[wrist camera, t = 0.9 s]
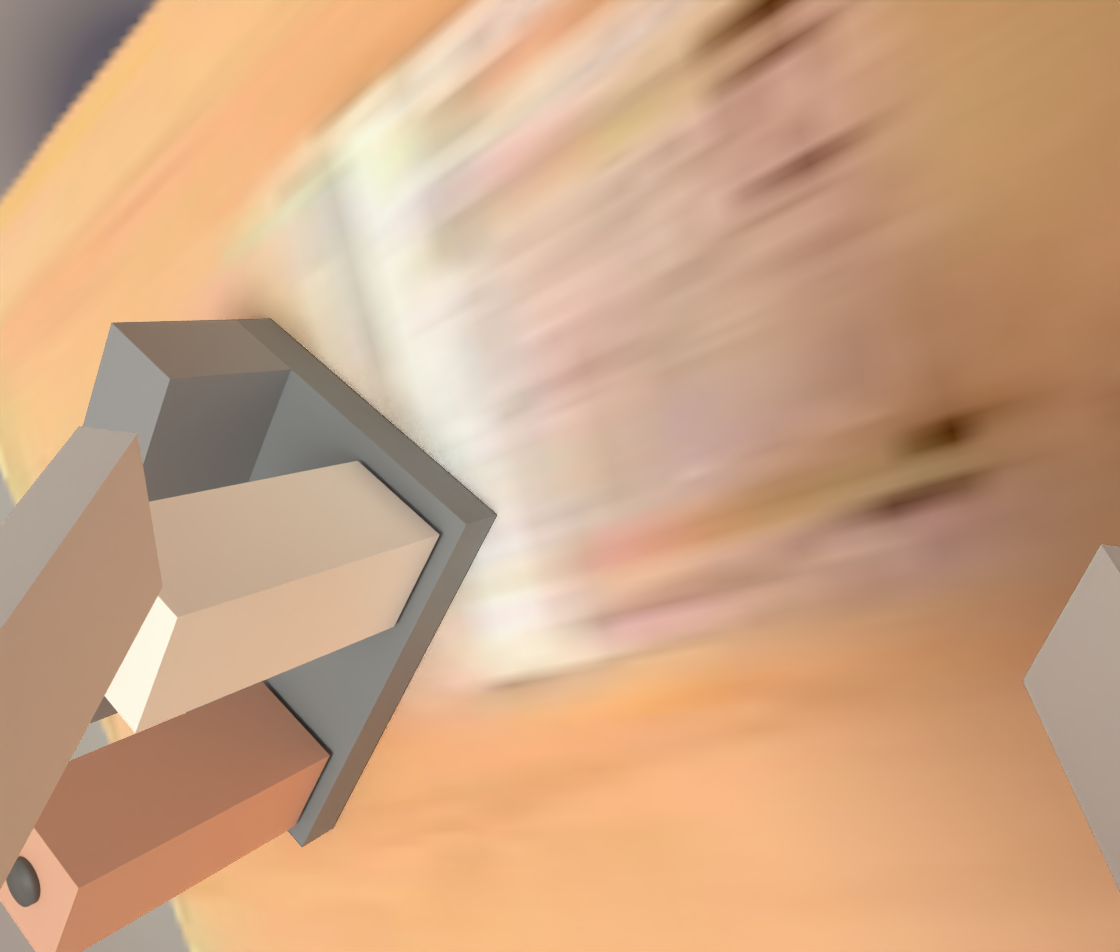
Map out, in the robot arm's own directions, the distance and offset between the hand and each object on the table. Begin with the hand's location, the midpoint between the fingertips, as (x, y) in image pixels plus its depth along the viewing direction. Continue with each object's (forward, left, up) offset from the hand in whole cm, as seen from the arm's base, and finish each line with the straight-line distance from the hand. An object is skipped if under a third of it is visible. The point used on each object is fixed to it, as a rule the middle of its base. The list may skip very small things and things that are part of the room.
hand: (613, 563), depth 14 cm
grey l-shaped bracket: (+19, -23, -20) cm, 36 cm away
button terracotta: (+26, -20, -18) cm, 37 cm away
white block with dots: (+14, -17, -18) cm, 28 cm away
